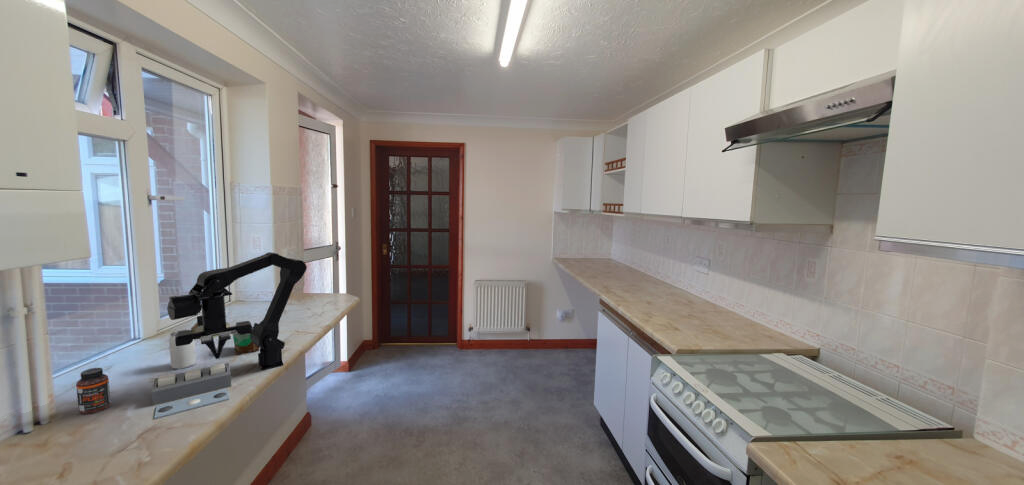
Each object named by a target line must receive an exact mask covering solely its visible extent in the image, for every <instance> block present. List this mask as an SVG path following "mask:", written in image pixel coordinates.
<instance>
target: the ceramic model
mask: <svg viewBox="0 0 1024 485" xmlns="http://www.w3.org/2000/svg"><path fill="white" fill-rule="evenodd" d="M226 326H227V327H231V326H230V323H229V322H226ZM190 330H193V333H197V332H203V326H198V325H197V322H195V324H194V325H192V327H190ZM216 337H218V335H215V336H213V338H216ZM197 340H201V339H200V338H198V339H197Z"/></svg>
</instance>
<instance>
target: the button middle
mask: <svg viewBox="0 0 1024 485" xmlns="http://www.w3.org/2000/svg"><path fill="white" fill-rule="evenodd" d="M201 369H202V368H200V367H199V368H195V369H189V370H185V371H184V372H185V381H187V380H192V379H196V378H201Z"/></svg>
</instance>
